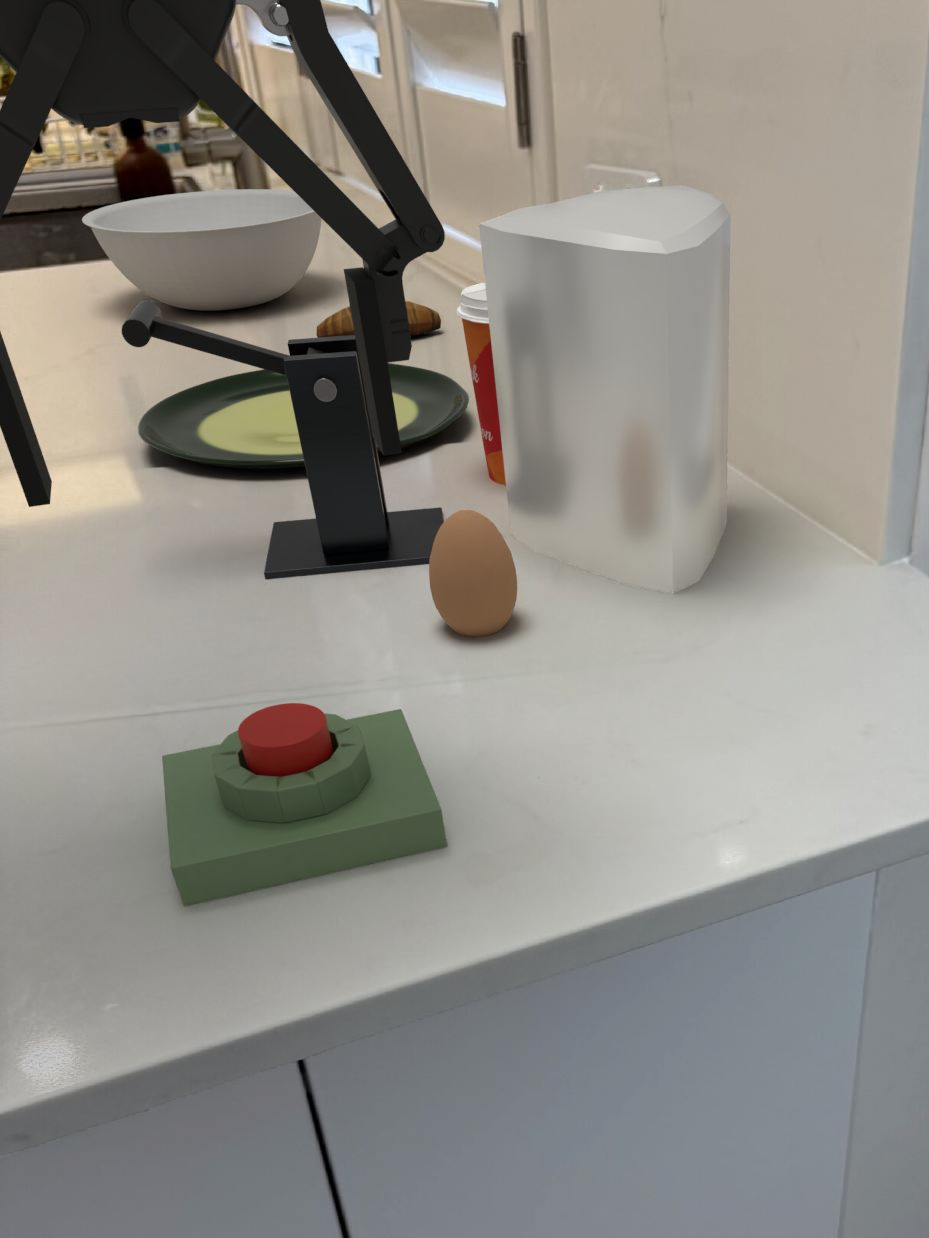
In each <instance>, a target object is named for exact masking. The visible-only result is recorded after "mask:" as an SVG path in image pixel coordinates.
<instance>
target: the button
mask: <svg viewBox="0 0 929 1238" xmlns="http://www.w3.org/2000/svg"><path fill="white" fill-rule="evenodd" d="M325 714H326V713H325V712H324V711H322V710H321V709H320V708H319V707H317V706H314V705H311V704H309V703H301V702H288V703H287V702H286V703H280V704H273V705H270V706H266V707H263V708H261V709H258V710H256V711H254V712H252V713H251V714H249V715H248V716H247V717H245V718H243V720H242V722H241V723H240V724H239V725H238V728H237V731H238V736H239V740H240V743H241V747H242V750H243V754H244V757H245V761H246V764H247V767H248V769H249V770H250V771H251V772H252V773H254V774H255V775H264V776H276V777H283V776H288V775H293V774H298V773H302V772H307V771H309V770H311V769H312V768H314V767H316V766H318V765H320V764H322V763H324V762H326V761H328V760H329V759H330V758H331V756H332V753H333V747H332V742H331V738H330V733H329V729H328V724H327V720H326V716H325Z"/></svg>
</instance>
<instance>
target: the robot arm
mask: <svg viewBox="0 0 929 1238" xmlns="http://www.w3.org/2000/svg"><path fill="white" fill-rule="evenodd" d="M238 5H239V6H240V5H244V6H247V7H248V8H249V9H251V10H252V11H253V12H254V13H255V14H256V17H257V18H258V20H259V21H260V24H261V25H262V27H263V28H264V29H265V30H266V31H267V32H268V33H270V34H272V35H275V36H278V37H286V38H287V40H288V42H289V44H290V47H291V49H292V51H293V53H294V55H295V57H296V59H297V60H298V62H299V64H300V66H301V67H302V69H303V70H304V72H305V74H306V75H307V77H308V78H309V81H310V82H311V84H312V85H313V87H314V88H315V90H316V92H317V93H318V95H319V96H320V98H321V100H322V101H323V103H324V105H325V106H326V108H327V110H328V111H329V113H330V115H331V116H332V117H333V120H334V121H335V123H336V124H337V126H338V128H339V129H340V131H341V133H342V134H343V136H344V138H345V139H346V141H347V142H348V144H349V146H350V147H351V149H352V150H353V152H354V154H355V156H356V157H357V159H358V160H359V162H360V164H361V165H362V167H363V169H364V170H365V172H366V174H367V175H368V177H369V178H370V180H371V181H372V183H373V186H374V187H375V188H376V190H377V191H378V193H379V195H380V196H381V198H382V200H383V201H384V203H385V204H386V206H387V208H388V209H389V211H390V213H391V214H392V216H393V218H394V220H392V221H390V222H388V223H387V224H384V225H383V226H381V227H379V228H378V227H377V225H376V224H375V223H374V222H373V221H371V219H370V218H369V217H367V215H366V214H365V213H364V212H363V211H362V210H361V209H360V208H359V207H358V206H357V205H356V204H355V203H354V202H353V201H352V200H351V199H350V197H348V196H347V195H346V193H344V192H343V190H342V189H340V187H338V185H337V184H336V183H335V182H334V181H333V180H332V179H331V178H330V177H328V175H327V174H326V173H325V172H324V171H323V170H322V169H321V168H320V167H319V166H318V165H317V163H315V162H314V160H312V159H311V158H310V157H309V156H308V155H307V154H306V153H305V152H304V151H303V150H302V149H301V148H300V147H299V146H298V144H297V143H296V142H294V140H292V139H291V137H290V136H288V134H286V132H285V131H284V130H283V129H282V128H281V127H280V126H279V125H278V124H277V123H276V122H275V121H274V120H273V118H271V117H270V115H268V114H267V113H266V111H264V110H263V108H261V107H260V106H259V104H258V103H257V102H256V101H255V100H254V99H253V98H252V97H251V96H250V95H249V94H248V93H247V92H246V91H245V90H244V89H243V88H242V87H241V86H240V85H239V84H238V83H237V82H236V81H235V80H234V79H233V78H232V77H231V76H230V75H229V74H228V72H226V71H225V70H224V68H223V67H221V66H220V65H219V63H217V62H216V61H217V59H218V56H219V54H220V52H221V49H222V46H223V44H224V41H225V39H226V36H227V34H228V32H229V29H230V26H231V24H232V21H233V19H234V16H235V12H236V7H237V6H238ZM329 31H330V30H329V28H328V24H327V20H326V16H325V13H324V9H323V4H322V0H0V58H1V59H2V61H4V62H5V64H7V65H8V66H9V67H10V68H11V70H12V71H14V72H15V75H14V77H13V80H12V82H11V84H10V87H9V89H8V90H7V93H6V96H5V98H4V100H3V102H2V105H1V107H0V221H1V220H2V218H3V216H4V213H5V211H6V209H7V207H8V205H9V203H10V201H11V198H12V196H13V194H14V192H15V189H16V187H17V185H18V183H19V181H20V178H21V176H22V174H23V171H24V169H25V167H26V165H27V163H28V161H29V159H30V156H31V154H32V152H33V150H34V148H35V145H36V143H37V142H38V139H39V137H40V134H41V133H42V130H43V128H44V126H45V124H46V121H47V120H48V117H49V115H50V113H51V110H52V111H54V112H55V113H56V114H57V115H59V116H60V117H62V118H63V119H65V120H67V121H69V122H71V123H73V124H76V125H80V126H83V129H93V128H108V127H110V126H114V125H117V124H119V123H121V122H123V121H125V120H128V119H136V120H141V121H145V122H149V123H154V124H165V123H177V122H181V119H183V118H185V117H187V116H188V115H190V114H191V113H192V112H193V111H194V110H195V109H196V108H197V107H198V105H199V103H200V102H201V101H202V102H203V103H204V104H205V105H206V106H207V107H208V108H209V109H210V110H211V111H212V112H213V113H214V114H215V115H216V116H218V118H219V119H220V120H221V121H222V122H223V123H224V124H225V125H226V126H228V128H230V129H231V130H232V132H234V133H235V134H236V135H237V136H238V137H239V138H240V139H241V140H242V142H244V143H245V145H247V146H248V147H249V148H250V149H251V150H252V151H253V152H254V153H255V154H256V155H257V156H258V157H259V159H261V160H262V161H263V162H264V163H265V164H266V165H267V166H268V167H269V168H270V169H271V170H272V171H273V172H274V173H275V174H276V175H277V176H278V177H279V178H280V179H281V180H282V181H283V182H284V183H285V184H286V185H287V186H288V187H289V188H290V190H291V191H294V192H295V193H297V194H298V195H299V196H300V197H301V198H302V199H303V200H304V201H305V202H306V203H307V204H308V205H309V206H310V207H311V208H312V209H313V210H314V211H315V212H316V213H317V214H318V215H319V216H320V217H321V220H323V222H324V223H326V224H327V226H329V227H330V228H331V229H332V230H333V231H334V232H335V234H336V235H338V236H339V238H341V240H342V241H344V242H345V243H346V245H348V246H349V247H350V248H351V249H352V250H353V252H354V253H356V255H358V256H359V257H360V258H361V259H362V266H361V267H351V268H343V275H344V280H345V285H346V290H347V298H348V302H349V307H350V309H351V315H352V321H353V326H354V332H355V338H356V344H357V349H358V355H359V361H360V367H361V373H362V378H363V384H364V390H365V396H366V401H367V407H368V413H369V419H370V424H371V430H372V436H373V438H374V440H375V441H376V443H377V445H378V447H379V448H380V450H381V452H382V455H383V456H385V457H386V456H390V455H391V456H393V455H399V454H402V453H403V452H402V451H403V450H402V448H401V444H400V438H399V432H398V425H397V419H396V413H395V407H394V400H393V394H392V388H391V382H390V375H389V369H388V363H398V362H404V361H410V358H411V352H412V347H413V345H412V338H411V336H410V331H409V323H408V317H407V310H406V303H405V301H406V297H405V291H404V283H403V275H404V271H405V269H406V268H407V266H408V265H409V264H410V263H411V262H413V261H414V260H416V259H418V258H419V257H421V256H423V255H425V254H426V253H434V252H437V251H439V250H440V249H441V248H442V247H443V245H444V243H445V240H446V235H445V234H446V233H445V230H444V227H443V225H442V223H441V221H440V220H439V217H438V215H437V214H436V213H435V210H434V209H433V207H432V206H431V204H430V201H428V199H427V197H426V195H425V193H424V192H423V191H422V188H421V187H420V185H419V183H418V181H417V180H416V178H415V176H414V174H413V173H412V172H411V170H410V168H409V167H408V165H407V163H406V161H405V160H404V158H403V156H402V154H401V153H400V151H399V149H398V148H397V146H396V144H395V142H394V141H393V139H392V137H391V135H390V134H389V132H388V130H387V129H386V127H385V125H384V124H383V122H382V121H381V119H380V117H379V115H378V113H377V111H376V110H375V108H374V107H373V105H372V103H371V101H370V100H369V98H368V97H367V95H366V92H364V90H363V88H362V86H361V85H360V83H359V81H358V79H357V78H356V75H355V74H354V73H353V71H352V69H351V68H350V66H349V64H348V63H347V61H346V59H345V57H344V55H343V54H342V52H341V51H340V49H339V47H338V45H337V43H336V42H335V40H334V38H333V37H332V35H331V34H330V32H329ZM0 430H1V433H2V436H3V438H4V439H3V440H4V441H5V444H6V447H7V450H8V452H9V455H10V458H11V461H12V463H13V467H14V469H15V473H16V475H17V478H18V480H19V483H20V486H21V489H22V492H23V495H24V497H25V500H26V502H27V505H28V508H32V507H40V506H46V505H50V504H51V496H52V485H53V481H52V478H51V474H50V472H49V468H48V466H47V463H46V460H45V457H44V454H43V451H42V448H41V446H40V443H39V439H38V437H37V434H36V431H35V428H34V425H33V423H32V419H31V417H30V413H29V411H28V407H27V405H26V402H25V398H24V395H23V393H22V390H21V386H20V384H19V381H18V378H17V376H16V373H15V370H14V367H13V364H12V361H11V357H10V355H9V353H8V349H7V346H6V343H5V341H4V338H3V335H2V331H0Z"/></svg>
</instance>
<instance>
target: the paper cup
mask: <svg viewBox="0 0 929 1238" xmlns="http://www.w3.org/2000/svg"><path fill="white" fill-rule="evenodd" d="M459 299H460V304H459V306H458V307H457V309H456V315H457V317H458V318H461V323H462V327H463V333H464V339H465V345H466V351H467V357H468V362H469V369H470V375H471V382H472V386H473V393H474V399H475V406H476V410H477V417H478V421H479V428H480V433H481V434H480V435H481V440H482V445H483V451H484V456H485V462H486V466H487V467H486V468H487V473H488V477H489V479H490V480H491V481H492V482H494V483H497V484H500V485H503V486H506V480H505V471H504V461H503V451H502V442H501V432H500V422H499V413H498V403H497V393H496V384H495V374H494V364H493V354H492V345H491V335H490V325H489V316H488V306H487V296H486V287H485V282H479V283H477V284H472V285H470V286H467V287H465V288H463V290H462V291H461V293H460V298H459Z"/></svg>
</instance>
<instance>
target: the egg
mask: <svg viewBox="0 0 929 1238" xmlns="http://www.w3.org/2000/svg"><path fill="white" fill-rule="evenodd" d="M443 521H444V523H443V524H442V525H441V527H440V528H439V530H438V533H437V535H436V537H435V540H434V543H433V547H432V551H431V555H430V560H429V564H428V577H429V589H430V593H431V597H432V600H433V604H434V606H435V608H436V610H437V612H438V614H439V616H440V617H441V618H442V620H443V621H444V622H445V623H446V625H448V626H449V627H450V628H451V629H452V630H453V631H454V632H455V633H457V634H458V635H461V636H466V637H472V638H473V637H486V636H489V635H492V634H493V635H494V634H496V633H498V632H499V631H501V630H502V629H504V627H505V626H506V625H507V623H508V622H509V621H510V619H511V617H512V615H513V612H514V609H515V607H516V604H517V597H518V577H517V570H516V566H515V562H514V558H513V555H512V551H511V549H510V548H509V546H508V544H507V542H506V540H505V538H504V536H503V534H502V533H501V532H500V530H499V529H498V527H497V526H496V525H495V524H494V522H492V520H491V519H489V518H488V517H487V516H485V515H483V514H481V513H480V512H478V511H475V510H472V509H461V510H458V511H456V512H454V513H452V514H451V515H450V516H448V517H447V518H446V519H445V520H443Z"/></svg>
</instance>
